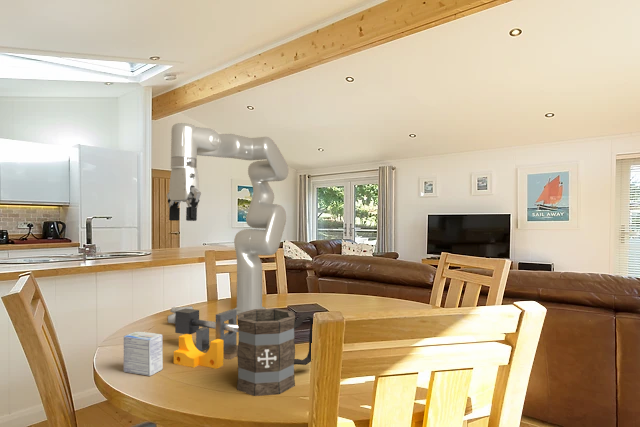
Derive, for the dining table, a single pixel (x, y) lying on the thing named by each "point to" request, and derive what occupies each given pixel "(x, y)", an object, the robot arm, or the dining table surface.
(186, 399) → the dining table surface
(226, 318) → the grey square ring
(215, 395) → the dining table surface
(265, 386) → the mug
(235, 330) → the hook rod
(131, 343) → the medicine box
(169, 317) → the light grey rounded piece
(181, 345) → the pipe clamp
